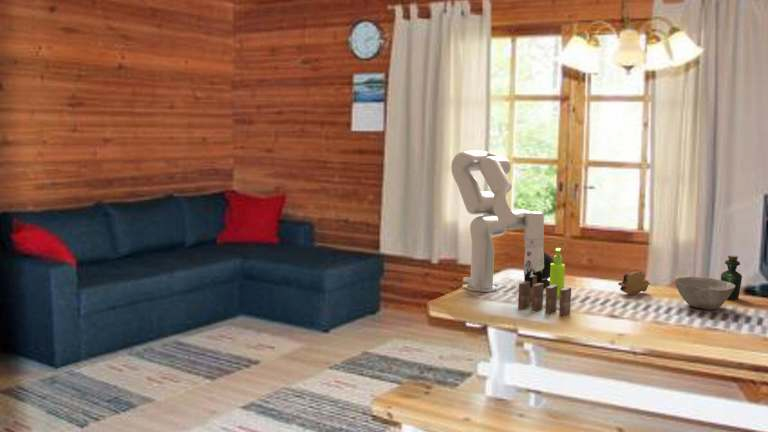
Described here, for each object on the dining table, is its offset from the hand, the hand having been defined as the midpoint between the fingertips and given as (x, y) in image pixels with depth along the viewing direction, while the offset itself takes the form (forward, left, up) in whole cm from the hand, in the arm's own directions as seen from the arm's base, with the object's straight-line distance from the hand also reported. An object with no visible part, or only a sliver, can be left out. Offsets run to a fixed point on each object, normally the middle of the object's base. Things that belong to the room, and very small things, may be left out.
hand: (533, 284), depth 301 cm
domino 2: (-1, 0, -7) cm, 7 cm away
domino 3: (+7, -13, -7) cm, 16 cm away
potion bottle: (+64, +56, -7) cm, 86 cm away
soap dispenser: (+4, +15, -7) cm, 17 cm away
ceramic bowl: (+58, +32, -7) cm, 67 cm away
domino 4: (+13, -13, -7) cm, 19 cm away
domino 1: (+2, -13, -7) cm, 14 cm away
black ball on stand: (-10, +30, -7) cm, 33 cm away
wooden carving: (+29, +38, -7) cm, 49 cm away
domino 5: (+18, -13, -7) cm, 23 cm away
